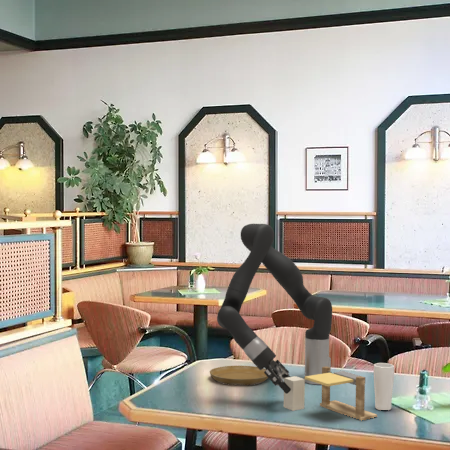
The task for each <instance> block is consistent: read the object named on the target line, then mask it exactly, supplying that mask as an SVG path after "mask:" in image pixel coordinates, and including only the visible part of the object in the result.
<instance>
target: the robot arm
mask: <svg viewBox="0 0 450 450" xmlns="http://www.w3.org/2000/svg"><path fill="white" fill-rule="evenodd" d="M240 239H241V242H242V244H243V245H244V247H245V248H246V249H247V250H248V251H249V254H248V256H247V257H246V259H245V260H244V262H243V263H242V264H241V265H240V266H239V267H238V269H236V271H235V272H234V274H233V275H232V277H231V278H230V282H229V285H228V287H227V290H226V291H225V292H226V293H225V297H224V300H223V301H222V305H221V306H220V309H219V310H218V312H217V316H216V322H217V324H218V325H219V326H220V327H221V328H222V329H225V330H227V331H228V332H229V334H230V335H231V336H232V338H233V340H234V342H235V343H236V344H237V345H238V346H239V347H240V349H241V350H242V351H243V352H244V354H245V355H246V356H247V357H248V358H249V360H250V361H251V362H252V363H253V364H254V365H255V367H258V369H259V370H262V369H263V368H264V369H266V371H265V372H264V373H265V374H266V376H267V377H268V379H269V380H270V381H271V382H272V384H273V385H274V386H276V387H279V388H280V389H281V390H282V391H283V393H284V392H285V393H286V394H287V393H289V392H290V391H291V388H290V387H289V386H288V385H287V384H286V383H285V382H284V378H287V377H291V376H290V372H289V370H288V369H287V368H286V367H285V366H284V365H283V363H282V362H280V360H278V359H276V360H274V359H275V358H276V356H277V355H276V354H275V352H274V351H273V350H272V349H271V348H270V347H269V346H268V344H266V343H265V341H264V340H263V339H262V338H261V337H259V336H258V335H257V333H256V332H254V330H253V329H252V328H250V326H249V325H248V324H247V322H246V321H245V319H244V318H243V316H242V315H241V314H240V312H241V309H242V305H243V304H244V301H245V300H246V298H247V295H248V292H249V289H250V287H251V284H252V282H253V280H254V277H255V276H256V273H257V272H258V270H259V268H260V266H261V265H263V266H264V267H265V268H266V269H267V271H268V272H269V273H270V274H271V275H272V277H273V278H274V279H275V281H276V282H277V283H278V284H279V286H281V287H282V288H283V289H284V291H285V292H286V293H287V294H288V295H289V297H290V298H291V299H292V301H294V304H295V305H296V306H297V308H298V310H299V312H301V314H302V316H303V317H305V318H306V319H308V320H312V321H313V326H312V327H311V328H308V329H306V330H305V332H304V335H305V337H304V339H305V340H304V345H305V346H304V377H305V376H311V375H317V374H322V367H326V366H327V367H330V372H332V371H331V369H332V368H331V367H332V366H331V364H332V362H331V361H332V358H331V357H330V334H331V331H332V324H333V322H332V320H333V304H332V302H331V300H330V299H329V298H327V297H323V296H322V297H321V296H316V295H314V294H312V293H311V292H310V291H309V290H308V289H307V287H305V285H304V277H303V273H302V271H301V270H300V269H299V267H298V266H297V265H296V263H295V262H294V261H293V260H292V259H291V258H289V257H288V256H287V255H285V254H284V253H282V252H280V251H278V250H277V249H275V248H274V247H273V246H272V245H273V243H274V239H275V232H274V229H273V227H272V226H271V225H269V224H267V223H249V224H246V225H244V226H243V227H242V228H241V230H240ZM304 379H305V378H304ZM305 384H310V385H320V384H319V383H316V382H312V381H309V380H306V379H305Z"/></svg>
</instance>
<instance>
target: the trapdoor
mask: <svg viewBox="0 0 450 450" xmlns="http://www.w3.org/2000/svg"><path fill="white" fill-rule="evenodd" d="M359 376H360V375H358V374H356V373H352V372H348V371H344V370H340V371H334V372H333V373H323V374H317V375H311V376H305V375H304V379H306V380H309V381H312V382H316V383H319V384H318V385H321V386H322V385H325V386H330V387H333V386H338V385H343V384H344V385H346V384H351V385H354V386H356V382H355V379H356V377H359Z"/></svg>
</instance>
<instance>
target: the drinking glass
mask: <svg viewBox="0 0 450 450" xmlns="http://www.w3.org/2000/svg"><path fill="white" fill-rule="evenodd" d="M394 380H395V365H394V364H391V363H388V362H387V363H386V362H377V363H374V364H373V386H374V387H373V389H374V390H373V391H374V407H375V409H376V410H378V411H381V410H388V411H390V410H392V403H393V402H392V401H393V390H394V382H395V381H394Z"/></svg>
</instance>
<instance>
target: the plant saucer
mask: <svg viewBox="0 0 450 450" xmlns="http://www.w3.org/2000/svg"><path fill="white" fill-rule="evenodd" d="M265 371H266V369H265V368H263V369H262V370H259V369H258V367H257V366H253V365H252V366H251V365H225V366H219V367H214V368H212V369H210V370H209V375H210V376H211V378H212V379H213V380H215V381H216V382H217V383H220V384H223V383H224V384H223V385H228V384H229V385H228V386H254V384H255V385H259V384H261V383H264V382H265V381H266V380H268V379H269V378H268V377H267V376H266V374H265V373H264V372H265Z"/></svg>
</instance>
